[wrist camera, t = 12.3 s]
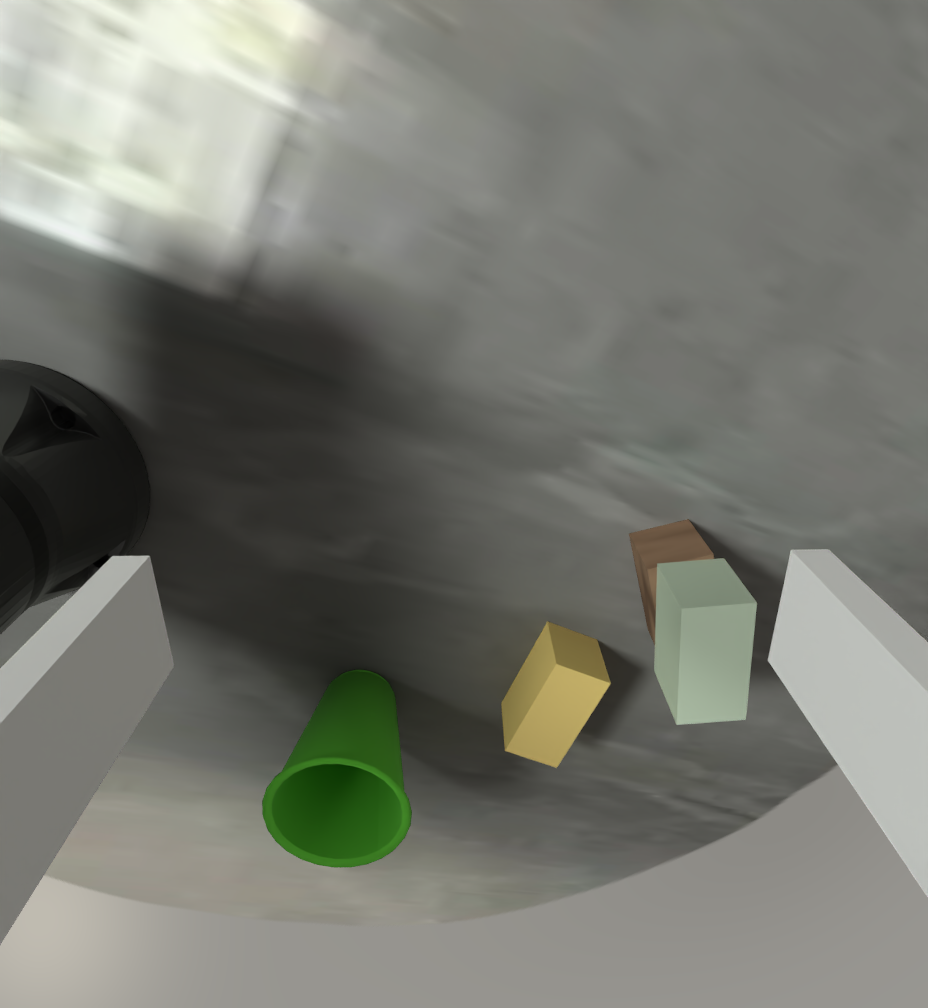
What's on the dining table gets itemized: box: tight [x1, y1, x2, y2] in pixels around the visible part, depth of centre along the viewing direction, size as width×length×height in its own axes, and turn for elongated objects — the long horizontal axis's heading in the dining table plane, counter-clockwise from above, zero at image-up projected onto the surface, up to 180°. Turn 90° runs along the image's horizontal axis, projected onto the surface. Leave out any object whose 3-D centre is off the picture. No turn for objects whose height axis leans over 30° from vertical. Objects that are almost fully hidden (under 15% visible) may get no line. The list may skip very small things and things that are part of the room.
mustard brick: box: [501, 622, 611, 768], centre depth 48 cm, size 8×4×5 cm, turn 157°
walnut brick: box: [629, 519, 714, 645], centre depth 45 cm, size 8×4×5 cm, turn 15°
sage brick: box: [654, 558, 757, 725], centre depth 40 cm, size 8×4×5 cm, turn 5°
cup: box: [262, 670, 412, 867], centre depth 46 cm, size 9×9×11 cm
